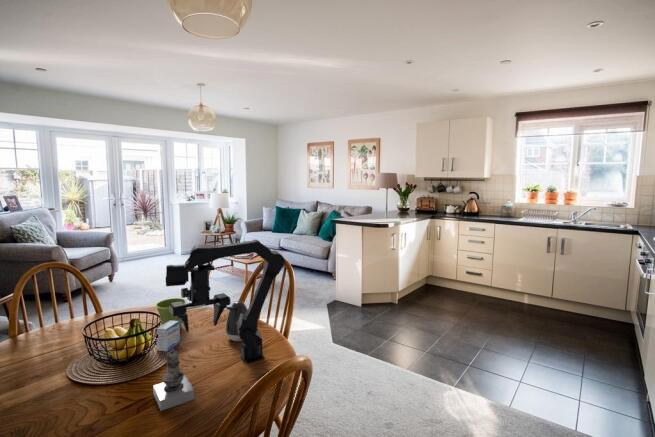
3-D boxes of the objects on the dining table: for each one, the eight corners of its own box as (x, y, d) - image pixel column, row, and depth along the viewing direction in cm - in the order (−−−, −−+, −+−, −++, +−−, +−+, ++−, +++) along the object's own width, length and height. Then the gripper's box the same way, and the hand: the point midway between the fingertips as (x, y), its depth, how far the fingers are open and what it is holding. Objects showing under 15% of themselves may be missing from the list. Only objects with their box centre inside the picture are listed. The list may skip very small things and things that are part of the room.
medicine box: (167, 352, 131) (166, 329, 130) (156, 350, 132) (155, 328, 131) (180, 342, 139) (179, 320, 138) (170, 341, 140) (169, 319, 139)
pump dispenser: (220, 339, 142) (219, 301, 140) (241, 330, 150) (241, 295, 148) (235, 347, 135) (234, 308, 134) (257, 338, 143) (256, 301, 142)
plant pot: (167, 322, 158) (166, 297, 157) (192, 323, 156) (191, 298, 155) (150, 333, 146) (149, 307, 145) (177, 335, 145) (176, 308, 143)
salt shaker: (161, 385, 105) (160, 346, 104) (183, 379, 108) (181, 341, 107) (163, 395, 100) (162, 354, 99) (186, 389, 103) (184, 350, 102)
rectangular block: (185, 384, 111) (185, 375, 111) (194, 399, 104) (193, 389, 103) (153, 395, 106) (153, 385, 105) (160, 411, 98) (160, 400, 98)
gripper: (219, 273, 131) (219, 315, 133) (164, 282, 120) (166, 327, 122) (230, 281, 122) (231, 325, 124) (172, 291, 111) (174, 339, 113)
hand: (201, 328), depth 121 cm, fingers open, 9 cm apart
